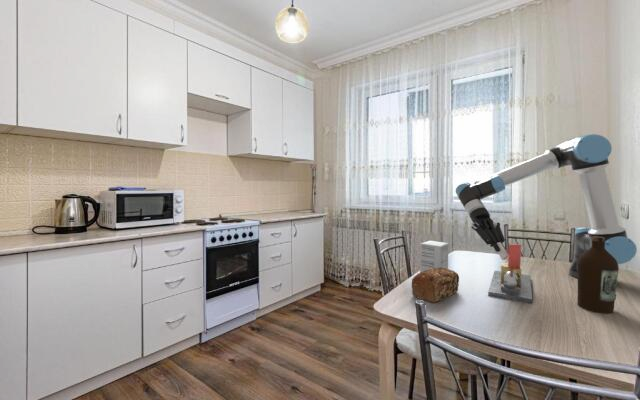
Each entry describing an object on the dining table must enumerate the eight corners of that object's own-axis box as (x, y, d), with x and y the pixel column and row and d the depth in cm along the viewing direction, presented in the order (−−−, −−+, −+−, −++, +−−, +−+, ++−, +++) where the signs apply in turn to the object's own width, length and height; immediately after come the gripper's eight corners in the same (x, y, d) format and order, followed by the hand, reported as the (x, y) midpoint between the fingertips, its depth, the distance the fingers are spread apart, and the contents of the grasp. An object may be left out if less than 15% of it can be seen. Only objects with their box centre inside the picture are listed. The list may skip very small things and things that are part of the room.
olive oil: (567, 303, 110) (570, 235, 109) (590, 300, 113) (593, 234, 111) (600, 315, 100) (604, 240, 99) (624, 312, 102) (628, 239, 101)
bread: (435, 304, 110) (435, 277, 109) (409, 296, 118) (410, 271, 117) (460, 293, 121) (460, 268, 121) (435, 286, 130) (435, 262, 129)
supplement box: (428, 275, 144) (429, 240, 143) (448, 279, 138) (449, 242, 137) (419, 280, 137) (419, 243, 136) (439, 284, 131) (440, 246, 130)
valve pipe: (494, 273, 147) (495, 251, 146) (529, 278, 139) (530, 255, 138) (488, 295, 118) (489, 268, 118) (532, 303, 111) (533, 274, 110)
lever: (505, 259, 130) (506, 238, 130) (516, 260, 128) (517, 239, 128) (508, 268, 117) (509, 245, 116) (520, 269, 115) (521, 246, 114)
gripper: (485, 216, 140) (513, 262, 124) (460, 217, 137) (486, 263, 122) (494, 206, 134) (525, 252, 119) (468, 206, 131) (496, 253, 116)
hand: (505, 258), depth 120 cm, fingers closed
